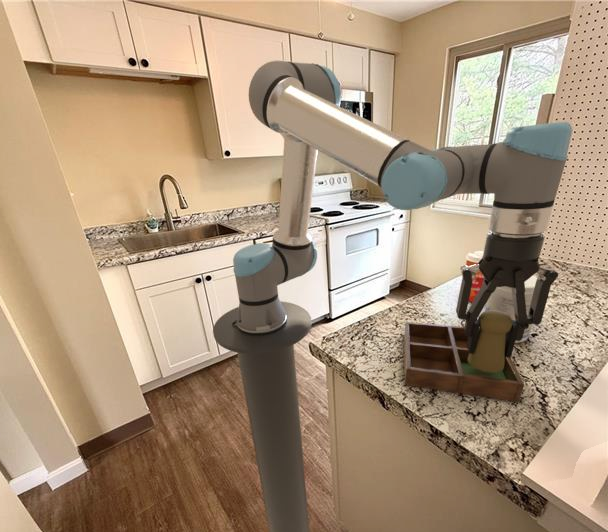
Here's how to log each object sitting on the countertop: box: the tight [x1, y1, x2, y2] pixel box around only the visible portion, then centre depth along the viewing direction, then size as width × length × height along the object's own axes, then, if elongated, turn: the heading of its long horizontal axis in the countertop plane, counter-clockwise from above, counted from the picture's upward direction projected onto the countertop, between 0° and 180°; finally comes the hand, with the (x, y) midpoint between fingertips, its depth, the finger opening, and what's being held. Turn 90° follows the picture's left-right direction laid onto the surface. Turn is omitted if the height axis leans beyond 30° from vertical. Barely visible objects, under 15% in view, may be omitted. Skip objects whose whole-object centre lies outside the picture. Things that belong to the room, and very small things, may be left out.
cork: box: [467, 310, 513, 372], centre depth 59 cm, size 6×6×11 cm
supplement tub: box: [484, 275, 537, 344], centre depth 73 cm, size 10×10×15 cm
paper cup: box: [465, 250, 485, 303], centre depth 91 cm, size 8×8×14 cm
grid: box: [403, 321, 525, 403], centre depth 67 cm, size 19×19×4 cm
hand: (487, 351), depth 60 cm, fingers closed on cork, 5 cm apart
